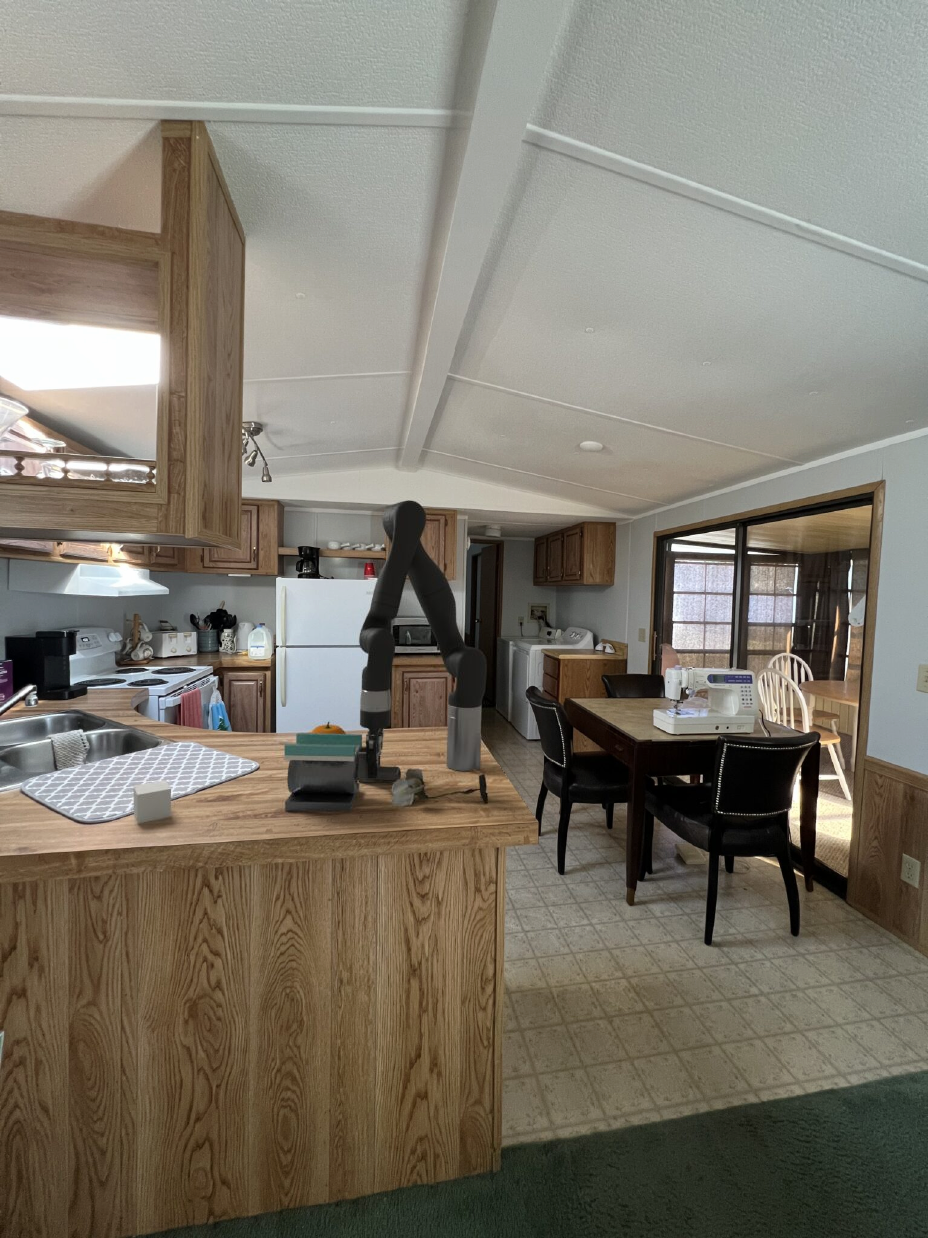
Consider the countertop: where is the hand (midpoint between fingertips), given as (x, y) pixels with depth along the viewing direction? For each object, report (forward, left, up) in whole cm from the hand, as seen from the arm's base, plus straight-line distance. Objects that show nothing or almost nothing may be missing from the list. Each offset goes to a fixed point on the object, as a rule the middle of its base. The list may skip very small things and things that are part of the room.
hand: (374, 773), depth 135 cm
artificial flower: (-17, +13, -2) cm, 21 cm away
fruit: (+16, -20, -2) cm, 26 cm away
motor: (+10, +13, -2) cm, 16 cm away
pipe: (0, 0, -2) cm, 2 cm away
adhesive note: (+43, +22, -2) cm, 48 cm away
